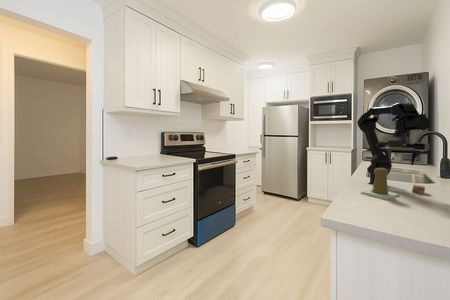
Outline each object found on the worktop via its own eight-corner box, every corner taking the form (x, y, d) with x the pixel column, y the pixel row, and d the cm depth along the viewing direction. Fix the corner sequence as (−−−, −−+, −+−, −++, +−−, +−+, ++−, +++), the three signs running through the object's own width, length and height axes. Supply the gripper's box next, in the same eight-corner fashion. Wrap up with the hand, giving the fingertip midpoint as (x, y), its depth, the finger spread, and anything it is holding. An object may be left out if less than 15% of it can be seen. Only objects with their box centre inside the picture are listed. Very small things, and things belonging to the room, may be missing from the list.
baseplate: (360, 193, 102) (360, 191, 102) (373, 190, 108) (373, 188, 107) (386, 200, 93) (386, 197, 93) (399, 196, 98) (399, 193, 98)
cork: (391, 194, 97) (392, 169, 96) (375, 194, 98) (377, 169, 97) (383, 191, 103) (385, 167, 102) (369, 190, 104) (370, 166, 103)
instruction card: (383, 189, 110) (383, 188, 110) (389, 186, 116) (389, 185, 116) (415, 194, 101) (415, 193, 101) (419, 191, 107) (419, 190, 107)
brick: (412, 192, 103) (413, 186, 103) (412, 190, 106) (413, 184, 106) (423, 194, 101) (424, 188, 100) (423, 192, 104) (424, 186, 104)
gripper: (371, 130, 109) (370, 162, 110) (420, 130, 92) (417, 168, 94) (383, 130, 114) (381, 161, 115) (431, 130, 98) (428, 166, 99)
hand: (400, 163), depth 106 cm, fingers open, 9 cm apart
